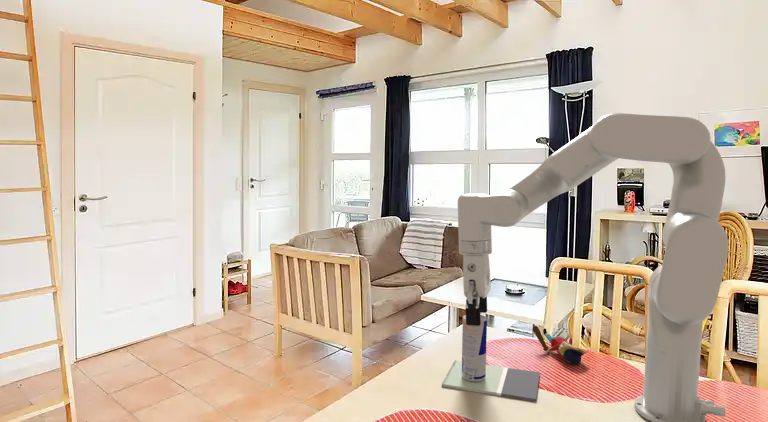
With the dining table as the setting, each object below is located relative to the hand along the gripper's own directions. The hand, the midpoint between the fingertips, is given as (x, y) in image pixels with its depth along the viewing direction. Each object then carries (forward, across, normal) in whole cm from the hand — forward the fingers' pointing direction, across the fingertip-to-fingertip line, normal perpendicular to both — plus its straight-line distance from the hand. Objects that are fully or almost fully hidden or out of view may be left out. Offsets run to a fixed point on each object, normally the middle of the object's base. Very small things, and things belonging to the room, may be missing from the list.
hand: (477, 318), depth 115 cm
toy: (+16, +22, -18) cm, 33 cm away
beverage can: (+15, 0, +1) cm, 15 cm away
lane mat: (+15, +1, -3) cm, 16 cm away
